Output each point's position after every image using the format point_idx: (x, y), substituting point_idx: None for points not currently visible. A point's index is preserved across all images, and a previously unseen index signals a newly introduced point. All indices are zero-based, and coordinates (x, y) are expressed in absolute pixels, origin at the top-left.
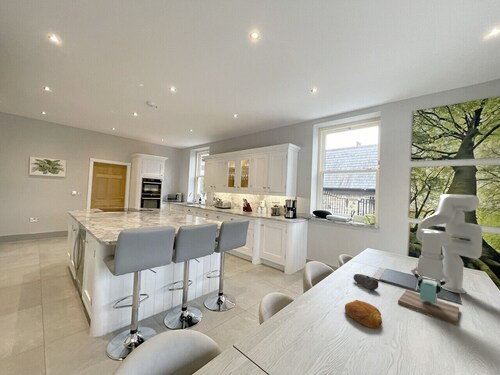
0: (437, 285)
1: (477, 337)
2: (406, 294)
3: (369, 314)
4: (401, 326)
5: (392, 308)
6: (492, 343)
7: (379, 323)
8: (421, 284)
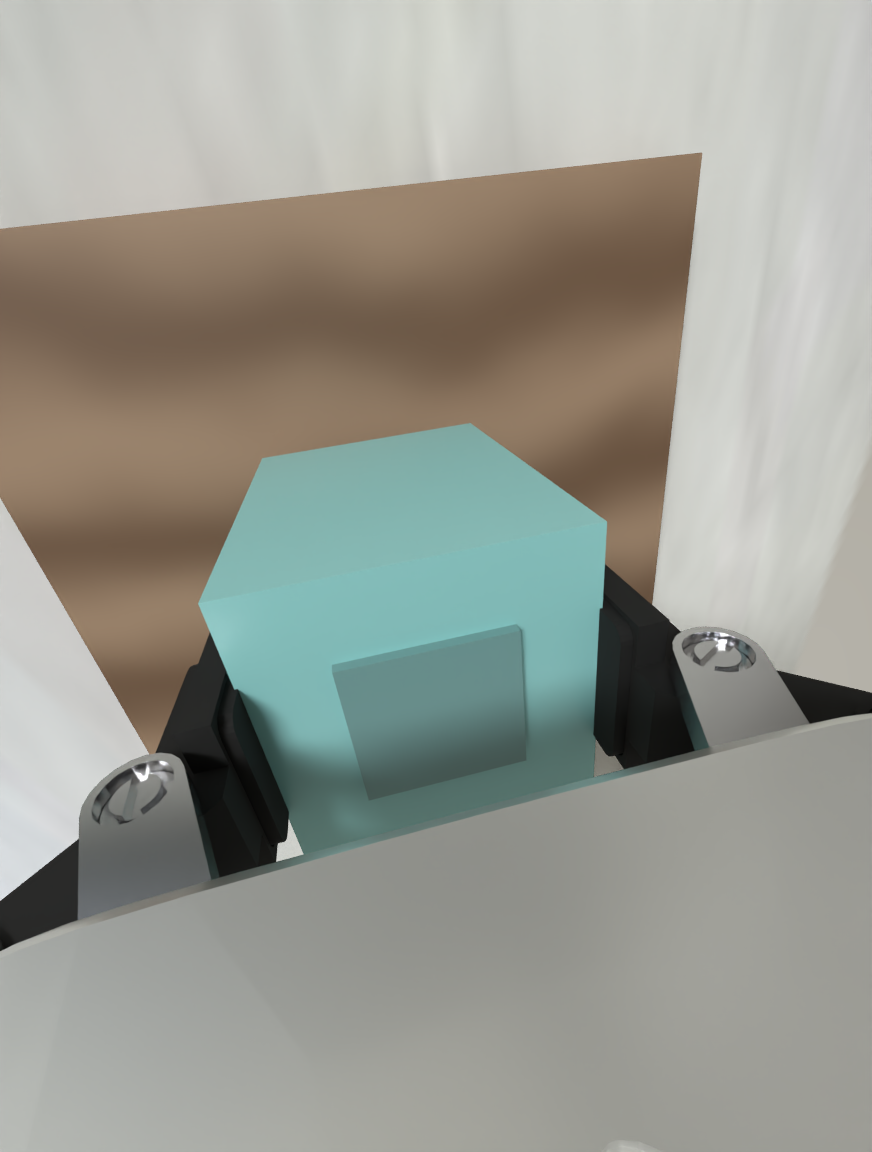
0: (636, 742)
1: None
2: (54, 499)
3: None
4: None
5: None
6: (792, 645)
7: None
8: (324, 841)
